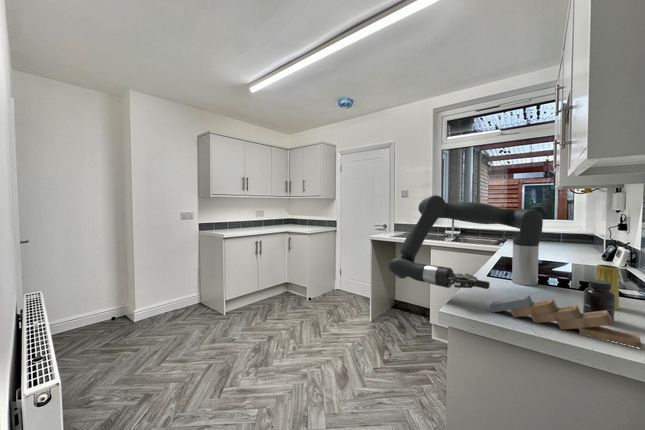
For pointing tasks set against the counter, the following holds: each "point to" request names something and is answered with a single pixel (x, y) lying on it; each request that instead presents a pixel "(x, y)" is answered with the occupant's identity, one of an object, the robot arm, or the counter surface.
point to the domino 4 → (587, 320)
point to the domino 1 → (511, 303)
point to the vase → (610, 279)
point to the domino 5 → (612, 335)
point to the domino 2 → (535, 308)
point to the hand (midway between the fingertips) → (488, 285)
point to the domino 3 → (558, 314)
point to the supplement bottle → (599, 298)
